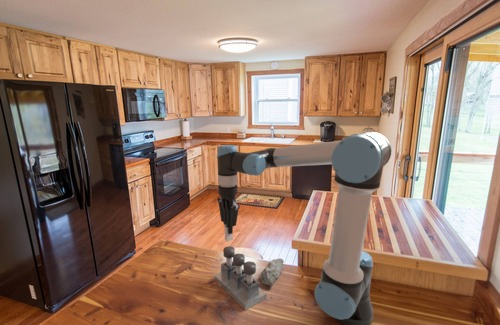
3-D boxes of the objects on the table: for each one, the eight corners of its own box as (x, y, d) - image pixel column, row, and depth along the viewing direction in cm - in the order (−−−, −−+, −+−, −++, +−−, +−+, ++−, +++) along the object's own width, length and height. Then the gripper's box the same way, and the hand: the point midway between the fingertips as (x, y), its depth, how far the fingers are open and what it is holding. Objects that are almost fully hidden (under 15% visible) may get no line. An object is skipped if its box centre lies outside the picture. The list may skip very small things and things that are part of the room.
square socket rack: (266, 298, 100) (266, 282, 99) (245, 310, 94) (245, 293, 93) (233, 270, 117) (233, 256, 116) (214, 279, 111) (214, 264, 110)
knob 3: (258, 288, 99) (258, 265, 97) (248, 293, 96) (248, 270, 94) (250, 282, 102) (250, 260, 100) (241, 287, 100) (241, 264, 98)
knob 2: (247, 279, 104) (246, 257, 102) (237, 283, 101) (237, 261, 100) (240, 273, 108) (240, 252, 106) (231, 277, 105) (230, 256, 103)
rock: (270, 264, 122) (270, 251, 120) (285, 268, 119) (285, 255, 117) (256, 284, 108) (256, 269, 107) (272, 289, 105) (272, 274, 104)
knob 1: (236, 270, 110) (236, 249, 108) (227, 274, 107) (227, 253, 105) (230, 265, 113) (230, 245, 111) (221, 269, 110) (221, 248, 108)
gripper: (245, 186, 100) (245, 243, 104) (226, 179, 110) (227, 231, 115) (228, 190, 95) (229, 249, 100) (211, 182, 105) (212, 236, 110)
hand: (228, 239), depth 107 cm, fingers closed
